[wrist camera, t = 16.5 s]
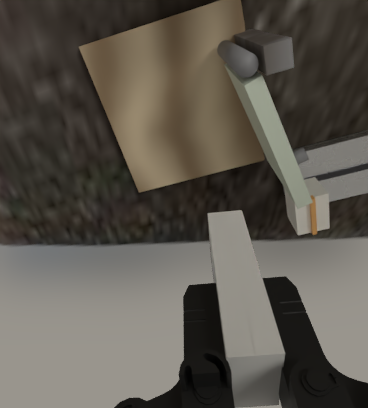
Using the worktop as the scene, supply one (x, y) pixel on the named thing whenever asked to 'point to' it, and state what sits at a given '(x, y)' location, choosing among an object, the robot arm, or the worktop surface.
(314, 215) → the fader cap
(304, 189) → the door
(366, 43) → the worktop surface
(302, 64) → the worktop surface
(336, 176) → the fader console
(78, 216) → the worktop surface
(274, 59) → the base
